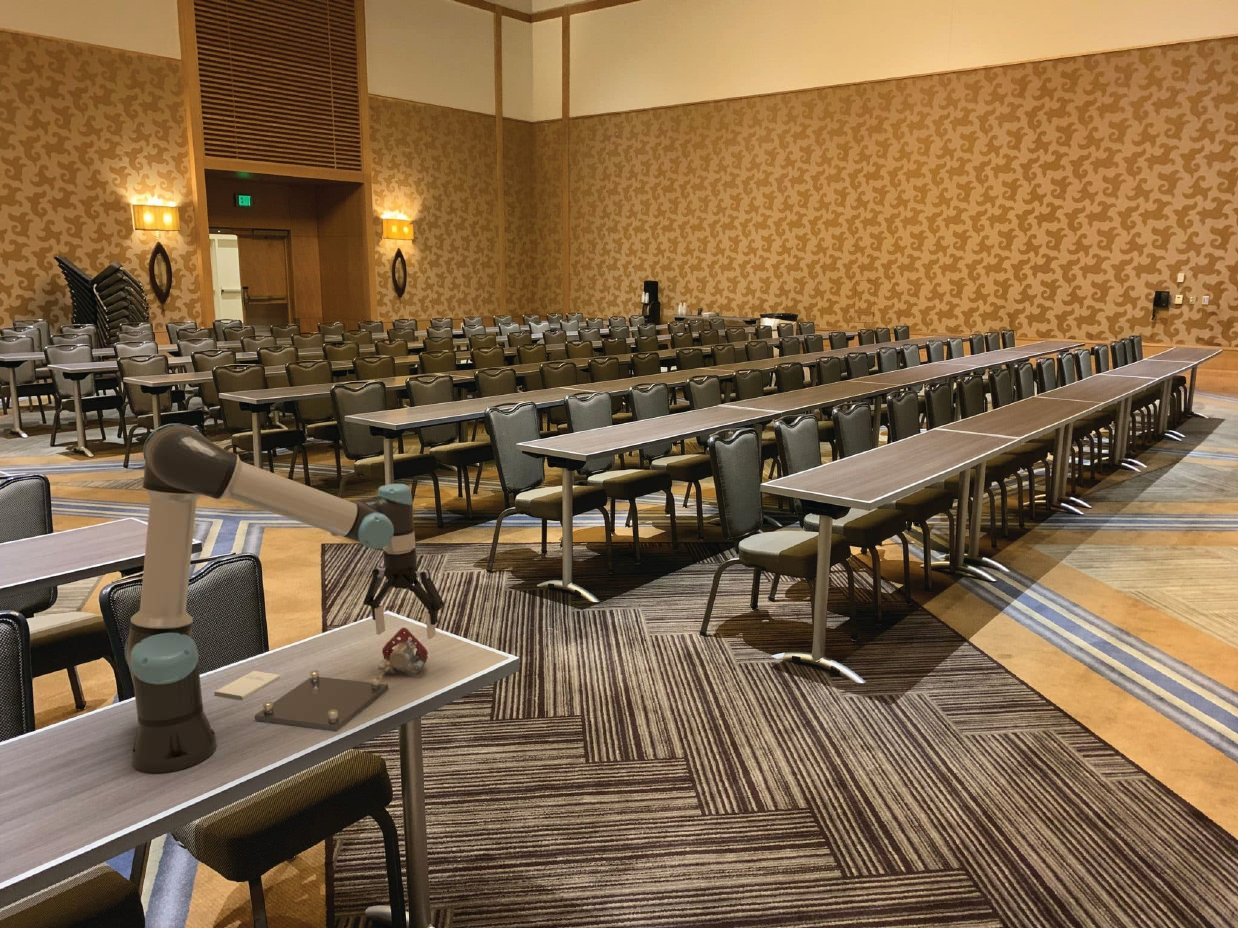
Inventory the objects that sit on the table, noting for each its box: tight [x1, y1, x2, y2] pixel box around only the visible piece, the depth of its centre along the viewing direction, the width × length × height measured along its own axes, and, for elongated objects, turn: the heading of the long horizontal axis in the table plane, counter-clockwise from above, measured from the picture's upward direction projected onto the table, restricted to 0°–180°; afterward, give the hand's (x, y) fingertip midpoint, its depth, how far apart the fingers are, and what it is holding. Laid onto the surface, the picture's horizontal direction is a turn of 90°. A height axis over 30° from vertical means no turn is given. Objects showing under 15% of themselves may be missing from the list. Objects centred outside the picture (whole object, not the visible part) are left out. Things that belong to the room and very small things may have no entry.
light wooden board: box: [213, 670, 281, 701], centre depth 212 cm, size 2×8×12 cm
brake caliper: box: [378, 627, 429, 680], centre depth 218 cm, size 11×11×12 cm
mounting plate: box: [254, 670, 389, 732], centre depth 202 cm, size 20×21×3 cm
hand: (406, 634), depth 218 cm, fingers open, 13 cm apart
